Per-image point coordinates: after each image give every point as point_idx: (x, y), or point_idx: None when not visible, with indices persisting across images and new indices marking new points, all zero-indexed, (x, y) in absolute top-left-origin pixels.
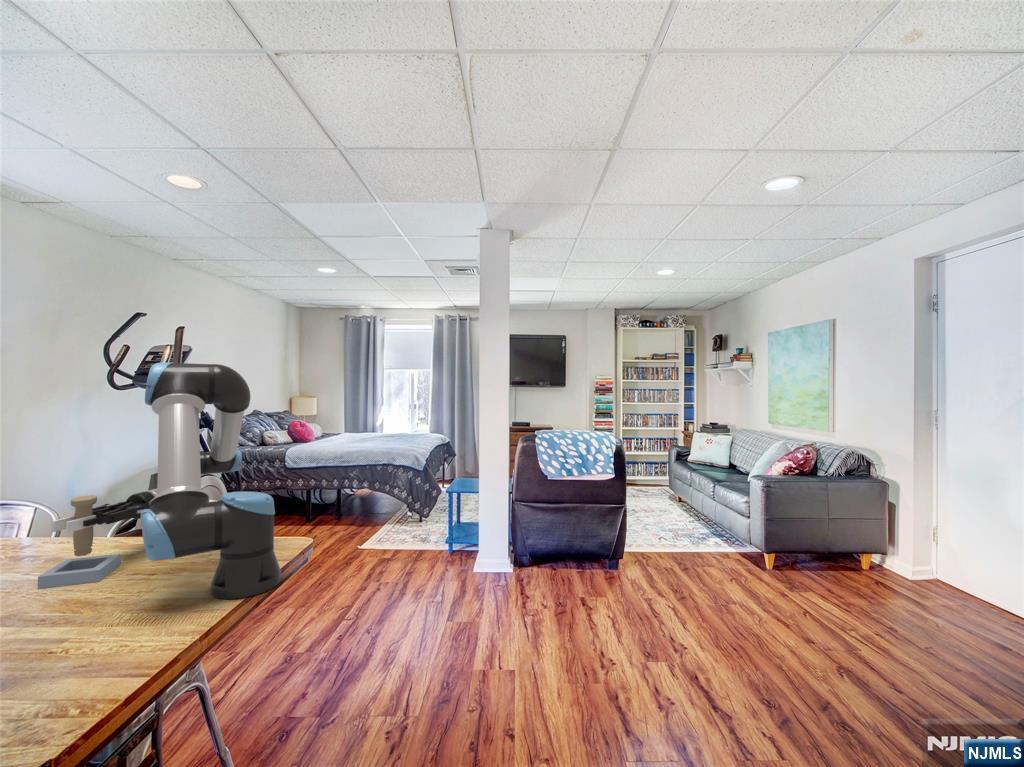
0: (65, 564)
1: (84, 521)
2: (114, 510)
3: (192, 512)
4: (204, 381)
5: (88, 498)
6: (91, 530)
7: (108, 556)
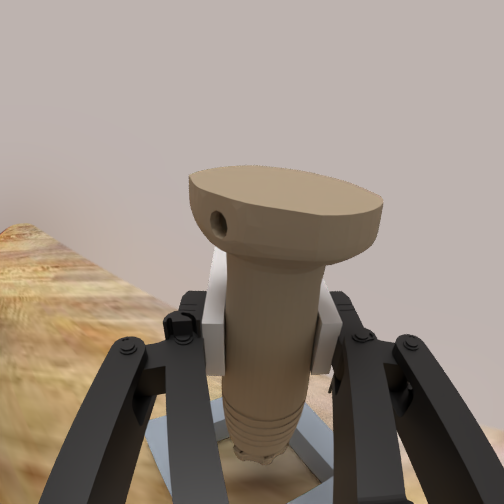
0: (318, 449)
1: (202, 294)
2: (191, 453)
3: None
4: None
5: (233, 180)
6: (222, 386)
7: None
